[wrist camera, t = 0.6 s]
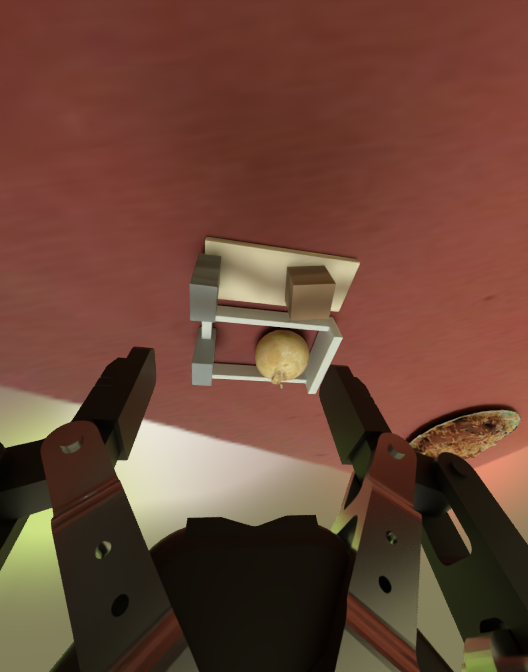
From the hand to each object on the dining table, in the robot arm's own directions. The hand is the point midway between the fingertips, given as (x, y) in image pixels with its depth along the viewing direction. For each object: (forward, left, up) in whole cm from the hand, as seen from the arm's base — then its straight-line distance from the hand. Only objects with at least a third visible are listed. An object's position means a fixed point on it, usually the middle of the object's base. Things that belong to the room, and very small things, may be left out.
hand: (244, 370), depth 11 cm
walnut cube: (+5, +8, -19) cm, 22 cm away
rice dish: (+42, +60, -21) cm, 77 cm away
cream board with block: (+5, +5, -21) cm, 22 cm away
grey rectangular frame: (+16, +5, -21) cm, 26 cm away
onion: (+16, +8, -21) cm, 27 cm away
